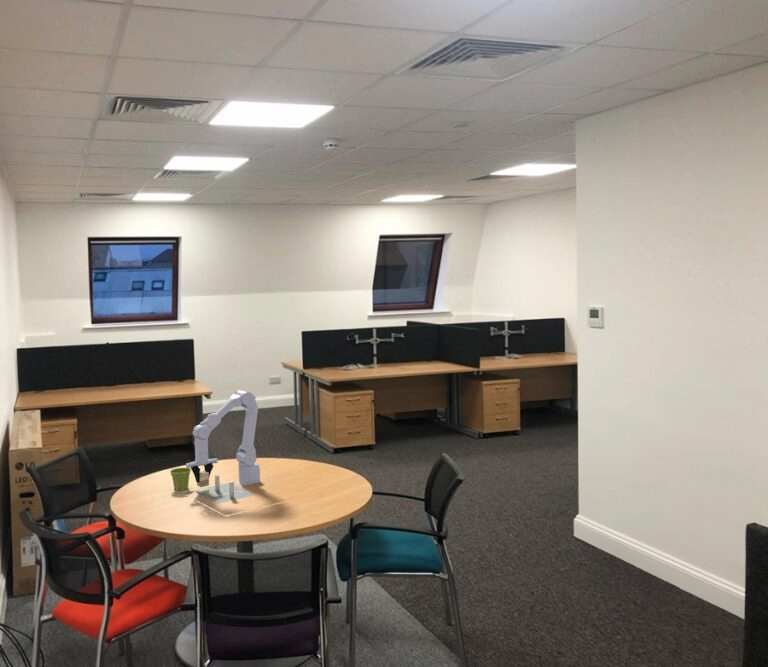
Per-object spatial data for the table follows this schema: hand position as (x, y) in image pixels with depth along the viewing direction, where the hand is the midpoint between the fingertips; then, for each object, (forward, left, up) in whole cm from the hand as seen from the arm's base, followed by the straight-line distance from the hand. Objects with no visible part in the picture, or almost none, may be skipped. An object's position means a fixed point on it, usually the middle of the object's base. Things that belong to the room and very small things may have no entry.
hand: (202, 481), depth 330 cm
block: (0, 0, -2) cm, 2 cm away
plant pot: (+5, -12, -5) cm, 14 cm away
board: (-6, +9, -5) cm, 12 cm away
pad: (0, 0, -5) cm, 5 cm away
